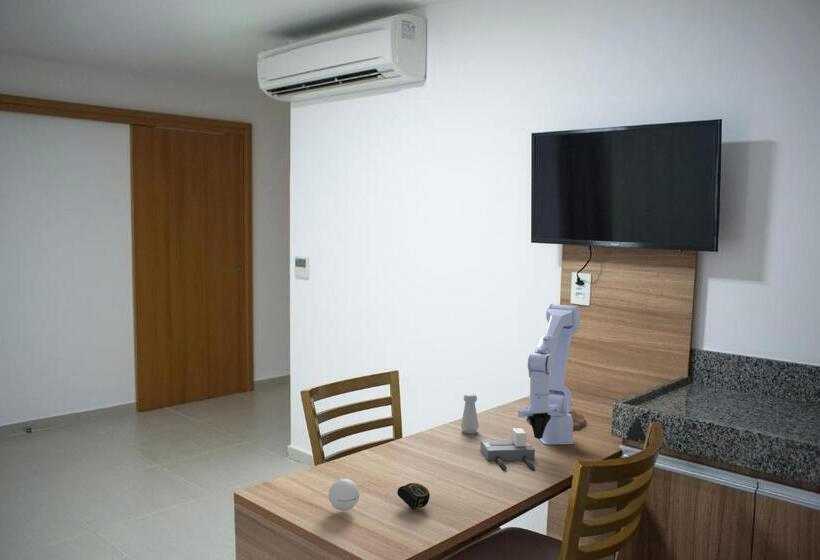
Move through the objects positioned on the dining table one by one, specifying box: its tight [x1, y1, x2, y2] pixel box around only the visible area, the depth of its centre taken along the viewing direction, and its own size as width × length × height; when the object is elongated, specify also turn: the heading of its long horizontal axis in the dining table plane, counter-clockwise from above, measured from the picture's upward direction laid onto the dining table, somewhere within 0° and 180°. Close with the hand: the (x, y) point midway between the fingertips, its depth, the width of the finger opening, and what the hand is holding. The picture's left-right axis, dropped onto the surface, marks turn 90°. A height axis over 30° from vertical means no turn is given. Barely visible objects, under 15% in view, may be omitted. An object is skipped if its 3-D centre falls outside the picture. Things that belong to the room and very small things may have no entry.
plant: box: [526, 393, 585, 431], centre depth 237 cm, size 20×20×11 cm
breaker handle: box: [511, 427, 527, 447], centre depth 202 cm, size 3×5×4 cm, turn 6°
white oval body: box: [328, 478, 371, 512], centre depth 160 cm, size 10×7×7 cm
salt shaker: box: [460, 393, 480, 435], centre depth 223 cm, size 6×6×13 cm
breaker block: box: [480, 438, 536, 462], centre depth 202 cm, size 14×10×3 cm
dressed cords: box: [495, 456, 535, 471], centre depth 193 cm, size 9×9×1 cm
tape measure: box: [397, 482, 431, 510], centre depth 164 cm, size 7×7×4 cm
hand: (538, 437), depth 203 cm, fingers closed
